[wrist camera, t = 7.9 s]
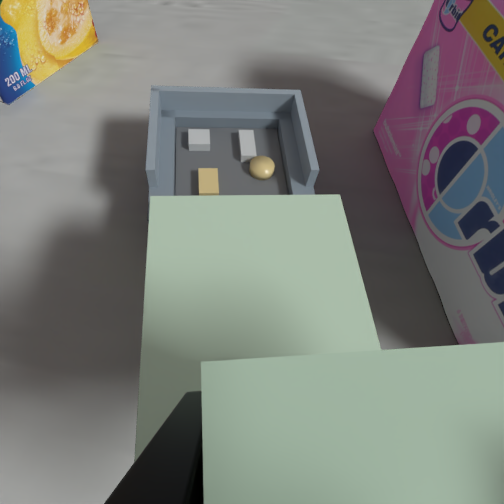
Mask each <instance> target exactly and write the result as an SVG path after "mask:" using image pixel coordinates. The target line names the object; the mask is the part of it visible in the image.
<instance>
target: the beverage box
mask: <svg viewBox="0 0 504 504" xmlns="http://www.w3.org/2000/svg"><path fill="white" fill-rule="evenodd" d="M97 43H98V39H97V35H96V31H95V27H94V23H93V19H92V16H91V12H90V8H89V4H88V0H0V101H1V102H3V103H5V104H7V105H10V104H11V103H12V102H14V101H15V100H17V99H18V98H20V97H21V96H22V95H24V94H25V93H27V92H28V91H30V90H31V89H32V88H34V87H35V86H37V85H38V84H40V83H41V82H42V81H44V80H45V79H47V78H48V77H50V76H51V75H52V74H54V73H55V72H57V71H58V70H60V69H61V68H62V67H64V66H65V65H67V64H68V63H70V62H71V61H72V60H74V59H75V58H77V57H78V56H80V55H81V54H82V53H84V52H85V51H87V50H88V49H90V48H91V47H92V46H94V45H95V44H97Z"/></svg>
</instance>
